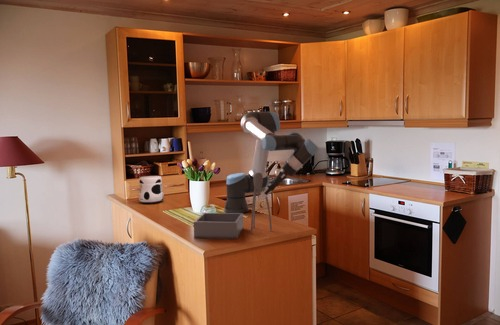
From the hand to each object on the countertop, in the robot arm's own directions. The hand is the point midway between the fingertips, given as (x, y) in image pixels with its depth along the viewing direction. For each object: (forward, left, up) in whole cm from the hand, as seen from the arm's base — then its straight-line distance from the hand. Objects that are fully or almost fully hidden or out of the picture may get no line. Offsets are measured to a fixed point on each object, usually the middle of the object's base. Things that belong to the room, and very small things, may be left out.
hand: (261, 196), depth 210 cm
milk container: (-75, -86, -19) cm, 116 cm away
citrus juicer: (-1, -3, -19) cm, 19 cm away
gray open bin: (+3, -21, -18) cm, 28 cm away
